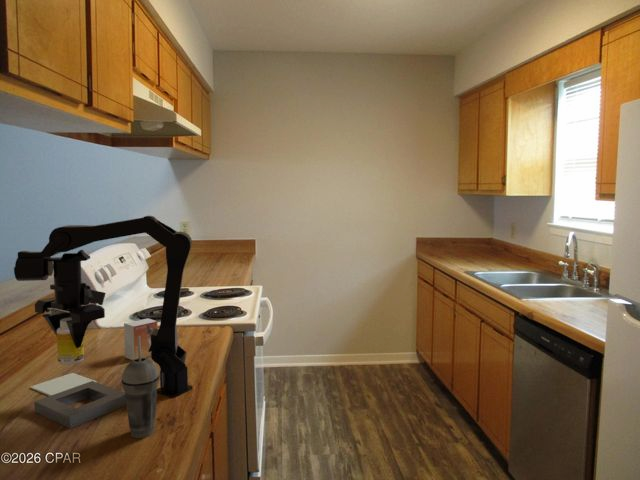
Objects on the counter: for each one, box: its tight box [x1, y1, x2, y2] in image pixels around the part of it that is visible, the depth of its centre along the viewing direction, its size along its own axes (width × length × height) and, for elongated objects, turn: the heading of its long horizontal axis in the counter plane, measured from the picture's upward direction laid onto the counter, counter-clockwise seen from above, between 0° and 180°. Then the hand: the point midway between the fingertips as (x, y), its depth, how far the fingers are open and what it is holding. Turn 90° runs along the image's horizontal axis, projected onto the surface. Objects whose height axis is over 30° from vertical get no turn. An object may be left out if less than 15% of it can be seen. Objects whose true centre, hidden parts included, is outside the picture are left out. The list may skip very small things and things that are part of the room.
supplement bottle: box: [56, 316, 85, 366], centre depth 114 cm, size 6×6×10 cm
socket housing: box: [33, 380, 127, 429], centre depth 111 cm, size 14×14×2 cm
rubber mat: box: [30, 372, 98, 397], centre depth 123 cm, size 11×11×1 cm
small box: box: [123, 317, 158, 361], centre depth 145 cm, size 8×6×10 cm
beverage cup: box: [120, 336, 160, 439], centre depth 99 cm, size 7×7×20 cm
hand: (70, 344), depth 114 cm, fingers closed on supplement bottle, 6 cm apart
